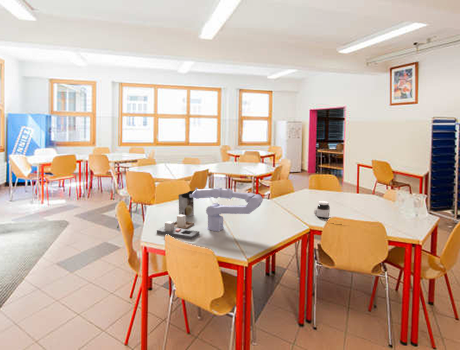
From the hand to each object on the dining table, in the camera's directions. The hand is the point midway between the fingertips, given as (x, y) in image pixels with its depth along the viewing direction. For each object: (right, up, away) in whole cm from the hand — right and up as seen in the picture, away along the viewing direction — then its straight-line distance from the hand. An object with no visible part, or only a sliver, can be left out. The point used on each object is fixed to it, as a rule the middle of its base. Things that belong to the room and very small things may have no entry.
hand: (185, 194), depth 193 cm
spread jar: (+95, -18, +25) cm, 100 cm away
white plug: (-2, -20, -2) cm, 20 cm away
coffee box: (-3, -17, +22) cm, 28 cm away
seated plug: (-7, -22, -13) cm, 27 cm away
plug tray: (-2, -21, -1) cm, 21 cm away
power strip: (-2, -23, -16) cm, 28 cm away
